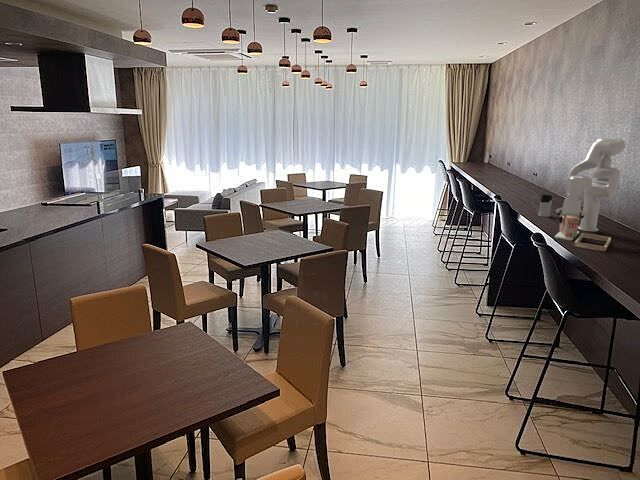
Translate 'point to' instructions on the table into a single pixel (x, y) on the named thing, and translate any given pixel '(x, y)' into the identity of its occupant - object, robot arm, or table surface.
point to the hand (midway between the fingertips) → (569, 224)
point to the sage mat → (561, 236)
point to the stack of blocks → (569, 226)
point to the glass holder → (544, 205)
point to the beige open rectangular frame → (589, 246)
